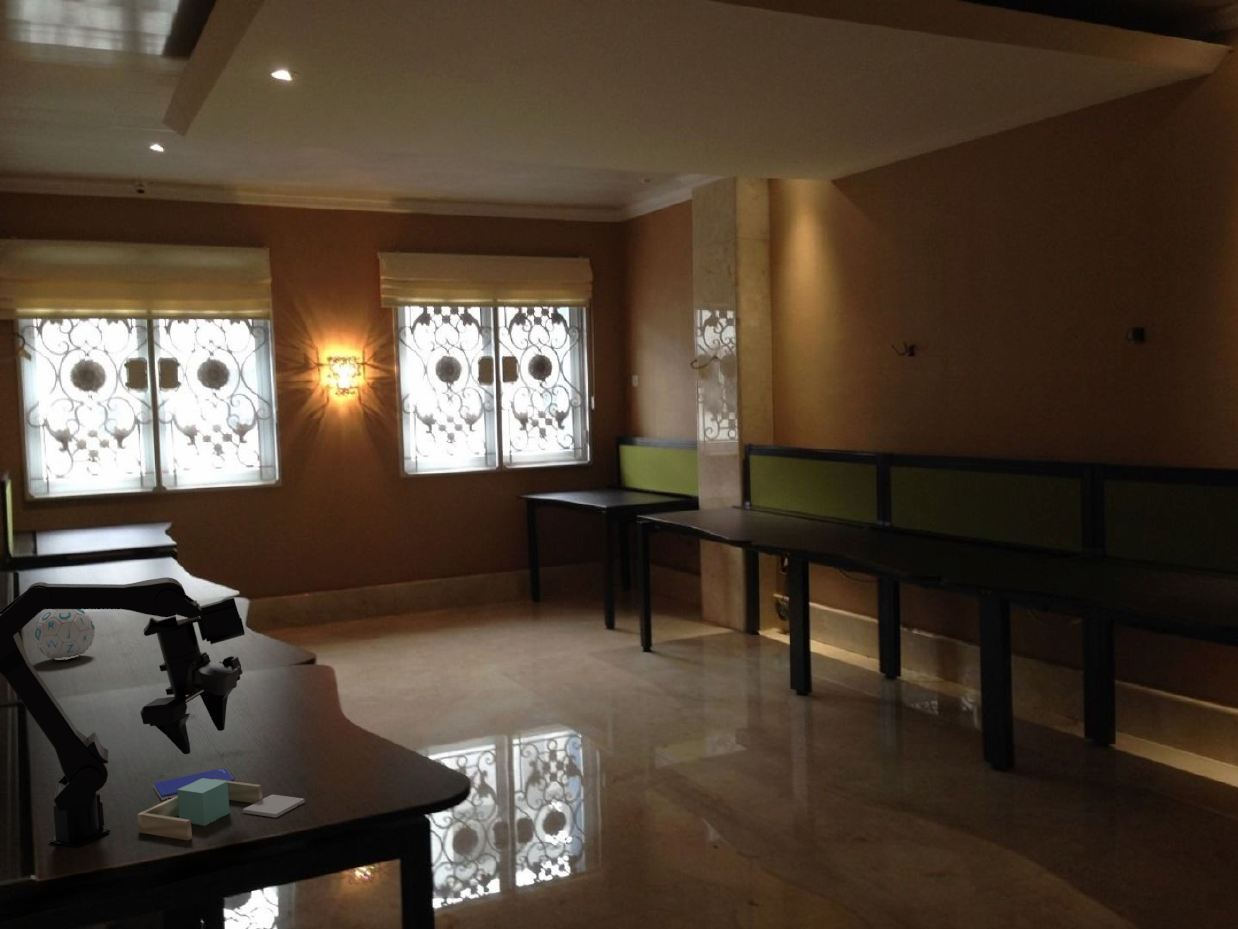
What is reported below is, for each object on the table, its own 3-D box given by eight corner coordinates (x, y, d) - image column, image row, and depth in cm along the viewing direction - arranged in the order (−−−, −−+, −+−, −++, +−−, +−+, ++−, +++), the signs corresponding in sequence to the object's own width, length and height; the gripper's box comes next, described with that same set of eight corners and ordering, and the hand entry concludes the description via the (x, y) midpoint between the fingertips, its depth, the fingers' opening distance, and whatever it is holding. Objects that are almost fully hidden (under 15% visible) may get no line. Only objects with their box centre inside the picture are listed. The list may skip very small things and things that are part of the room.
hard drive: (224, 766, 203) (153, 782, 196) (234, 778, 196) (161, 795, 189) (224, 775, 203) (153, 790, 196) (235, 787, 196) (161, 803, 189)
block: (204, 826, 177) (202, 793, 177) (179, 822, 179) (177, 789, 179) (229, 813, 182) (227, 781, 182) (204, 810, 184) (202, 778, 184)
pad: (276, 817, 179) (275, 814, 179) (243, 812, 182) (243, 809, 182) (304, 802, 185) (304, 798, 185) (272, 797, 188) (272, 794, 188)
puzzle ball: (42, 657, 309) (38, 604, 308) (100, 650, 314) (96, 599, 313) (31, 669, 295) (26, 614, 294) (92, 662, 299) (87, 608, 298)
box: (188, 840, 171) (186, 821, 171) (138, 832, 175) (137, 814, 175) (262, 802, 186) (261, 785, 186) (215, 795, 191) (214, 778, 190)
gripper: (186, 668, 168) (211, 763, 170) (255, 629, 186) (277, 715, 188) (127, 675, 172) (152, 768, 174) (200, 636, 189) (222, 720, 191)
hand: (204, 741), depth 182 cm, fingers open, 9 cm apart
